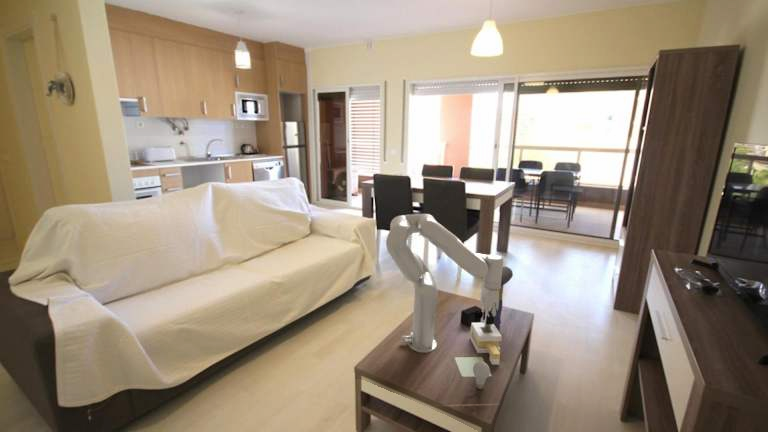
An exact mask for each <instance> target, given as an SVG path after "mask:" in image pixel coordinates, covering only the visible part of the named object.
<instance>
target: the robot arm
mask: <svg viewBox="0 0 768 432" xmlns="http://www.w3.org/2000/svg"><path fill="white" fill-rule="evenodd" d="M389 225H390V227H389V228H390V229H389V232H388V234H387V236H386V237H387V238H386V240H385V245H386V251H387V252H388V253H389V254H388V255H390V257H391V258H392V261H394V263H395V265H396V267H397V268H398V269H399V271H400V272H401V274H402V276H403V278H405V279H406V280H408V281H409V282H411V283H412V284H413V288H414V299H413V300H414V301H413V302H414V303H413V311H412V313H413V314H412V315H413V316H412V317H413V318H412V332H410V334H408V335H401V340H402V341H404V342H405V343H406V344H407V343H408V347H409V348H410V349H411V350H412V351H414V352H417V353H424V354H425V353H426V354H427V353H431V352H434V351H435V350H436V349H437V346H438V345H437V340H435V337H434V335H435V323H436V306H437V301H438V288H437V284H436V282H435V279H434V276H433V274H432V273H431V271H430V270H429V268H428V267H427V265H426V264H425V262H424V261H423V259H422V258H421V257H420V255H418V254H417V253H415V252H412V249H411V248H410V246H409V245H408V240H409V238H410V235H411V234H417V233H419V235H421V237H422V238H424V239H425V240H427V241H428V242H429V243H431V244H432V245H434V246H435V247H436V248H437V249H439V250H440V251H441V252H442V253H444V255H446V256H447V257H448V258H449V259H450V260H452V261H453V262H454V263H455V264H456V265H457V266H459V267H460V268H461V269H463V271H464V272H465V271H466V272H467V273H468V274H469V275H470V276H472V277H474V278H475V279H476V278H477V279H481V278H482V287H481V292H480V297H479V298H480V300H479V301H480V304H481V305H482V307H483V310H482V312H483V316H482V320H483V321H485V312H486V311H487V316H486V324H487V325H490V324H493V322H494V316H496V311H498V306H499V289H500V288H501V278H502V269H503V267H504V259H503V257H502V256H501V255H499V254H494V253H493V254H485V253H480V252H479V253H478V252H472V251H471V250H469V248H468V247H467V246H466V245H464V243H463V242H462V241H461V240H460V239H459V237H458V236H456V235H455V234H453V232H451V231H450V230H448V229H447V228H446V227H445V226H443V225H442V224H441V223H439V222H438V221H437V220H436V219H435V217H434V216H433V215H431V214H430V213H415V214H402V215H397V216H395V217H394V218H393V219H392V220H391V222H390V224H389ZM490 312H492V313H490Z"/></svg>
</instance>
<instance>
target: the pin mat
mask: <svg viewBox="0 0 768 432" xmlns="http://www.w3.org/2000/svg"><path fill="white" fill-rule="evenodd" d="M454 360H455V363H456V365H457V367H458V370H459V373H460V375H461V377H462V378H466V377H469V378H470V377H471V378H472V377H475V375H474V373H473V366H474V364H475V363H476V362H478V361H483V362H485V360H484V358H483V356H473V357H472V356H470V357H469V356H467V357H465V356H464V357H457V356H456V357H454ZM488 377H492V373H491V372H490V374H489V376H488ZM475 378H476V377H475Z"/></svg>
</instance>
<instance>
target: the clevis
mask: <svg viewBox="0 0 768 432" xmlns="http://www.w3.org/2000/svg"><path fill="white" fill-rule="evenodd" d="M484 323H485V322H477V323H471V325H470V334H469V340H470V341H471V343H472V345H473V347H474V349H475V351H476V353H477V354H489V361H490V364H491V365H493V366H495V365H500V359H501V347H500V343H501V342H502V341H503V340H502V339H503V336H502V334H501V333H500V331H499V330H498V328H497V326H495V325H494V324H491V331H490V332H486V331H484Z"/></svg>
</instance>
